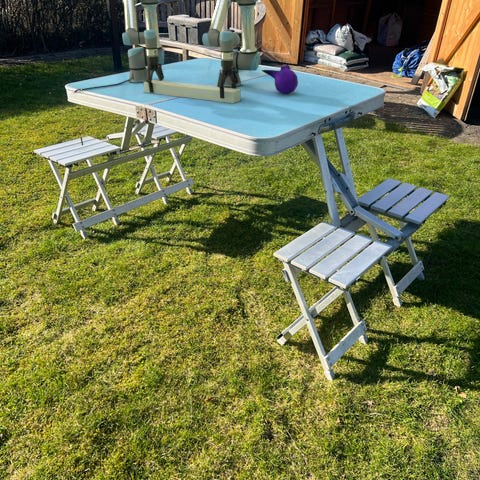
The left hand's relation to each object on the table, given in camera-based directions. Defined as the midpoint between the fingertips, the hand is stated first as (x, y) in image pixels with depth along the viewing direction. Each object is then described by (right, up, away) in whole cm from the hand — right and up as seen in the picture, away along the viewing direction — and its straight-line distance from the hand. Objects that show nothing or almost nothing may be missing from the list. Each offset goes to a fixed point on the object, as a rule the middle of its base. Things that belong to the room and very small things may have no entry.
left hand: (156, 91), depth 306 cm
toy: (+85, -4, -8) cm, 85 cm away
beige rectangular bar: (+25, -7, -13) cm, 29 cm away
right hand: (+50, -12, -27) cm, 58 cm away
